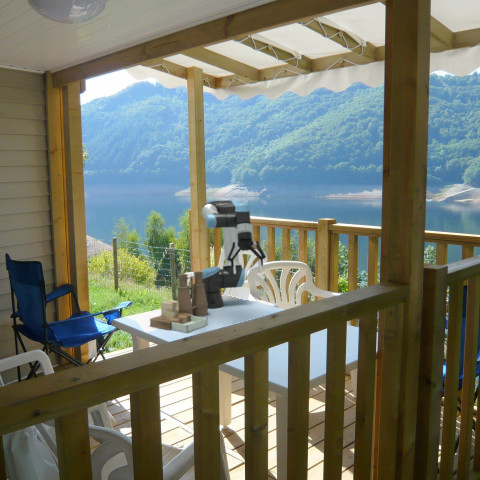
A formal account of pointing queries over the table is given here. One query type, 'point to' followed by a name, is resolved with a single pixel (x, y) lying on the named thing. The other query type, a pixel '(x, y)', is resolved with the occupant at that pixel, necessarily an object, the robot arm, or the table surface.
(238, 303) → the table surface
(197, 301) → the binoculars
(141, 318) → the table surface
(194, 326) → the tray
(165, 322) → the board
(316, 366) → the table surface
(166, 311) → the block
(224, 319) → the table surface
